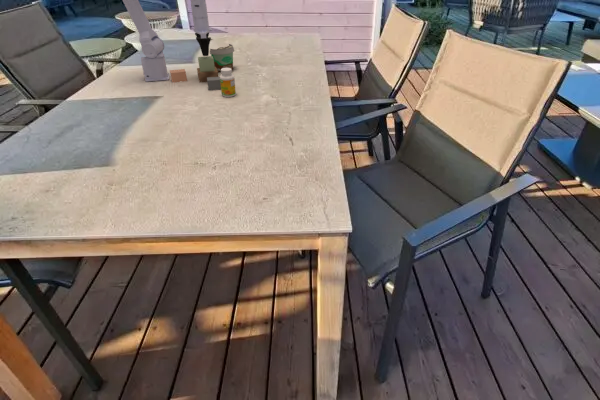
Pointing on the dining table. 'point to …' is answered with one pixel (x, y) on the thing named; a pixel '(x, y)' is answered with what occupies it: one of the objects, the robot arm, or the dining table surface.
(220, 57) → the food container
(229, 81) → the supplement bottle
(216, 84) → the charcoal brick
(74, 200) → the dining table surface
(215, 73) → the walnut block
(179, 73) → the terracotta brick
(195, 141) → the dining table surface
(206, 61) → the sage brick
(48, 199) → the dining table surface
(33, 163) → the dining table surface
